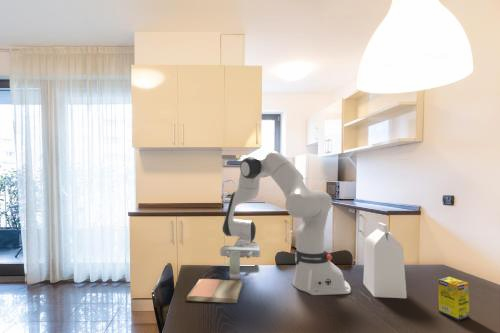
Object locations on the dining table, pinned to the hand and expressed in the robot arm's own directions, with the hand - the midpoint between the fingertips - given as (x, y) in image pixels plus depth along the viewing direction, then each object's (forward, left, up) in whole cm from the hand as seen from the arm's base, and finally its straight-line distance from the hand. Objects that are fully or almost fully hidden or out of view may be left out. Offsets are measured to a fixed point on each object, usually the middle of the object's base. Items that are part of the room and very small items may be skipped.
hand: (238, 255), depth 124 cm
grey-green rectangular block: (0, +11, -7) cm, 13 cm away
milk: (-60, +16, -7) cm, 62 cm away
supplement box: (-75, +33, -7) cm, 82 cm away
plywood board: (+5, +24, -7) cm, 25 cm away
